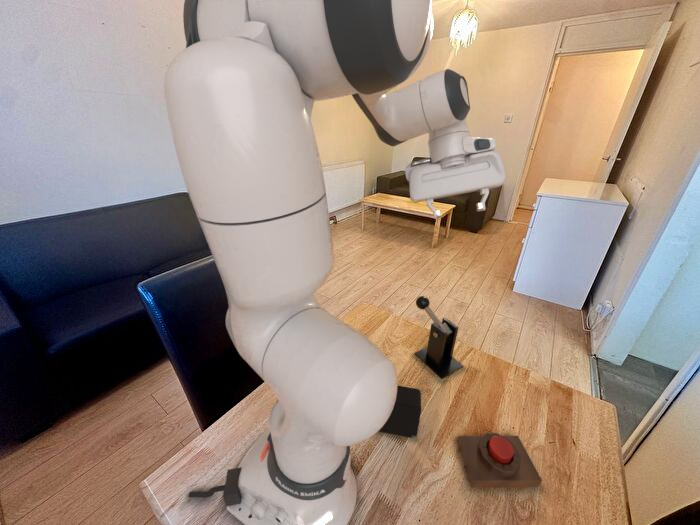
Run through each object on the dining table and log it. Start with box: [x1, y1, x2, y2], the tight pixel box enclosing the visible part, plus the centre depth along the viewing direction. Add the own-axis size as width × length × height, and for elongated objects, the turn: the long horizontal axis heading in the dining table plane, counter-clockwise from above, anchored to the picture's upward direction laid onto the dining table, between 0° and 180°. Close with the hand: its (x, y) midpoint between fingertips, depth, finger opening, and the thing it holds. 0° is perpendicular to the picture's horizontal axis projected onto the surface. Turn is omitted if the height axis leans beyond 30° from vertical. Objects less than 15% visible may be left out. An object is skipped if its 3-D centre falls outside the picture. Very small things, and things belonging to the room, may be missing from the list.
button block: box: [457, 432, 543, 489], centre depth 53 cm, size 12×8×4 cm, turn 90°
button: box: [488, 436, 514, 464], centre depth 52 cm, size 4×4×2 cm
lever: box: [415, 295, 452, 337], centre depth 74 cm, size 12×4×4 cm, turn 31°
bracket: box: [414, 317, 464, 380], centre depth 74 cm, size 10×8×13 cm
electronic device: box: [378, 385, 422, 439], centre depth 59 cm, size 4×10×10 cm, turn 78°
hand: (459, 214), depth 64 cm, fingers open, 8 cm apart
